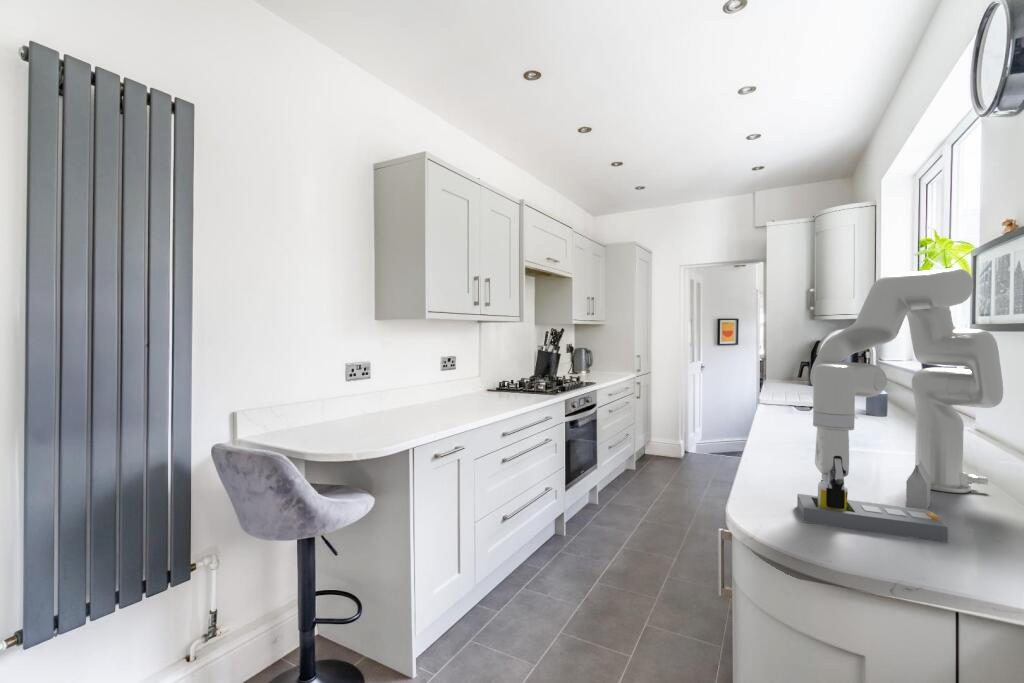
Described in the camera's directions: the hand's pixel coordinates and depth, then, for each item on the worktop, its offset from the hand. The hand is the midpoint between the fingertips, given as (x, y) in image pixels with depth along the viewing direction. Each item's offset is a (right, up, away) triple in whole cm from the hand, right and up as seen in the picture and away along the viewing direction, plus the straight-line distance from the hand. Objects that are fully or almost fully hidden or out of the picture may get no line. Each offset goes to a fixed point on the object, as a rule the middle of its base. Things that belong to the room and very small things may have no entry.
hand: (832, 502), depth 104 cm
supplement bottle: (0, -4, 0) cm, 4 cm away
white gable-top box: (+27, -4, +9) cm, 28 cm away
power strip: (+5, -4, -2) cm, 7 cm away
